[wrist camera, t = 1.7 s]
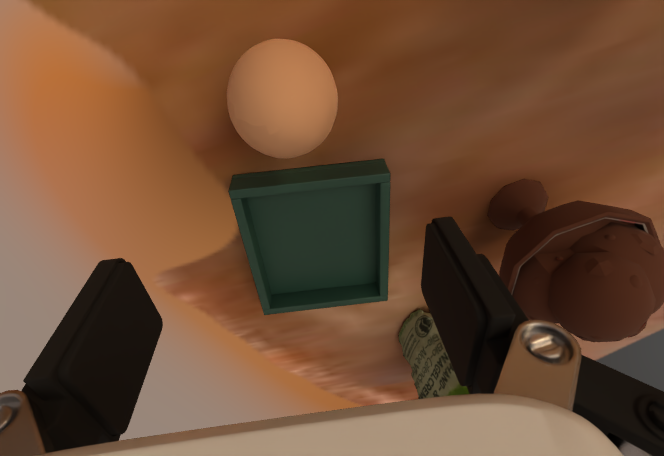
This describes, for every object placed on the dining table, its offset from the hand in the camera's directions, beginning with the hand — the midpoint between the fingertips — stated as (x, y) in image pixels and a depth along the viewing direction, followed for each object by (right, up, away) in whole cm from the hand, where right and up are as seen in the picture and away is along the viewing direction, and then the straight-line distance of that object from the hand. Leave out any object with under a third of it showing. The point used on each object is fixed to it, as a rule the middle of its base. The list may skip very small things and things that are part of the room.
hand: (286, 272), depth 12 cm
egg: (-2, +12, +14) cm, 19 cm away
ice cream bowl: (+19, +4, +23) cm, 30 cm away
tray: (0, +1, +23) cm, 23 cm away
